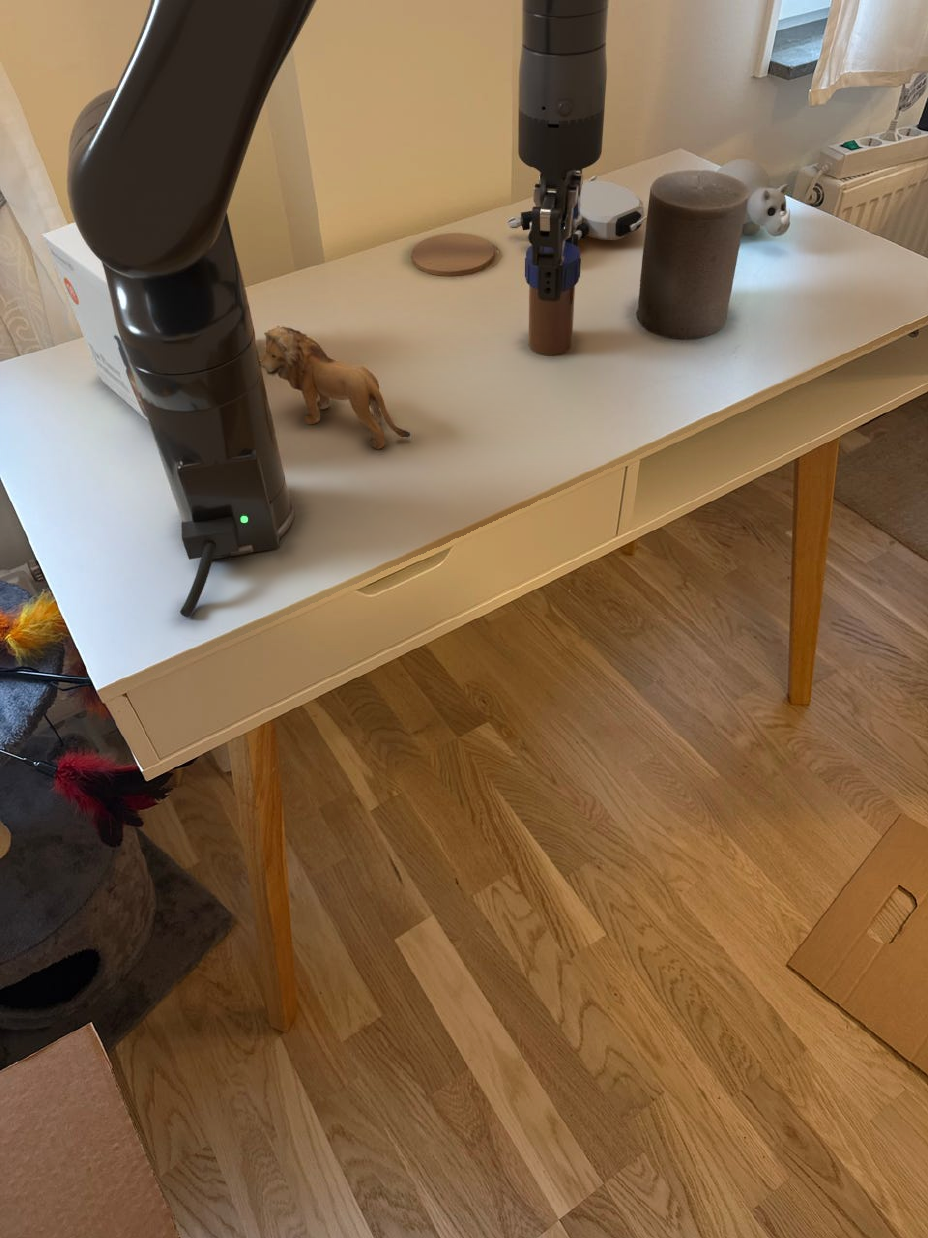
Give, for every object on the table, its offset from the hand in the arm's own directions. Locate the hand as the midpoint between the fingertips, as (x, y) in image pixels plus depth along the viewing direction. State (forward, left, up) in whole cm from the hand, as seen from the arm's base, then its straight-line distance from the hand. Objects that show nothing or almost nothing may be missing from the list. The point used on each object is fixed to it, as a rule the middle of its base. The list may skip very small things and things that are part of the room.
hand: (555, 283), depth 93 cm
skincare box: (-2, +40, -7) cm, 41 cm away
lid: (0, 0, +3) cm, 3 cm away
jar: (0, 0, -7) cm, 7 cm away
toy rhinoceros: (+17, -29, -7) cm, 34 cm away
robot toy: (+23, -10, -7) cm, 26 cm away
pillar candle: (+2, -15, -7) cm, 17 cm away
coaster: (+23, +6, -7) cm, 25 cm away
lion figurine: (-8, +24, -7) cm, 26 cm away
